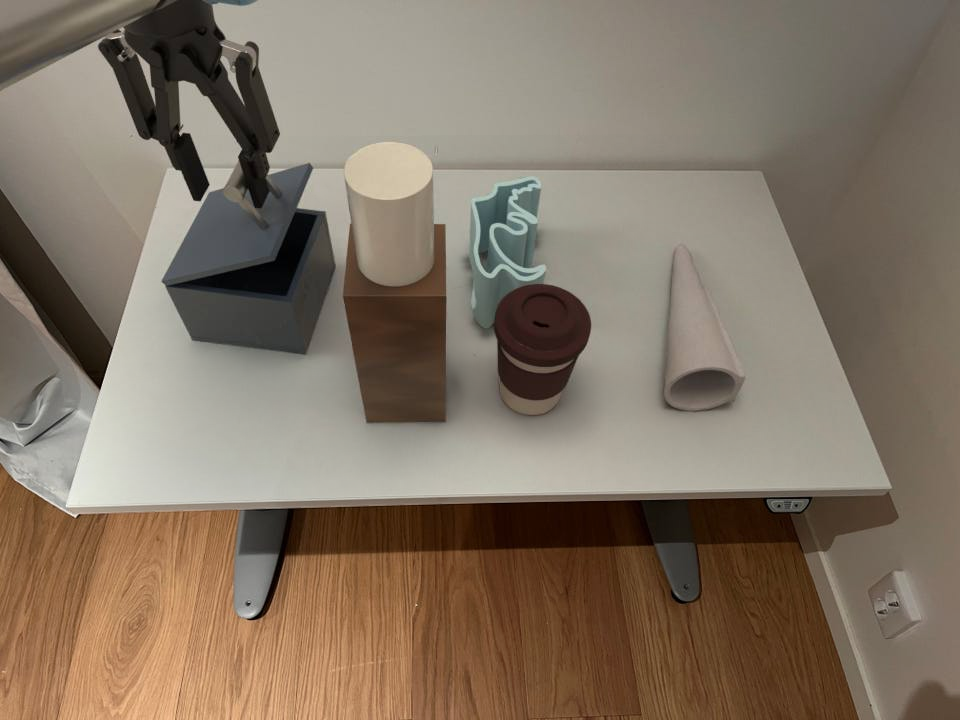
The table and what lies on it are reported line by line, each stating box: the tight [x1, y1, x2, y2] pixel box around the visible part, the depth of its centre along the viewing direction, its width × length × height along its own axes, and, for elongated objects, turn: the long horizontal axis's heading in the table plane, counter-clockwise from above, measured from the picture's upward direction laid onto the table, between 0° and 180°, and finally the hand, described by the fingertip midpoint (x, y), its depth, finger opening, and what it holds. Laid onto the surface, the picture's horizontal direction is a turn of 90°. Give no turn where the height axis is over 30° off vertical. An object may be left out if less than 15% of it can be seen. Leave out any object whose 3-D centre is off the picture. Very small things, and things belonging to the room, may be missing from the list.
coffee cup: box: [493, 283, 592, 416], centre depth 74 cm, size 10×10×15 cm
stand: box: [342, 223, 447, 424], centre depth 71 cm, size 9×9×22 cm
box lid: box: [161, 160, 314, 286], centre depth 73 cm, size 15×15×7 cm
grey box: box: [164, 207, 337, 356], centre depth 83 cm, size 14×15×10 cm
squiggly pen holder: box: [468, 175, 547, 329], centre depth 87 cm, size 18×10×9 cm, turn 6°
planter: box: [663, 243, 746, 412], centre depth 86 cm, size 8×9×26 cm
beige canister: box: [343, 141, 435, 287], centre depth 58 cm, size 7×7×10 cm
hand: (231, 195), depth 72 cm, fingers open, 6 cm apart
